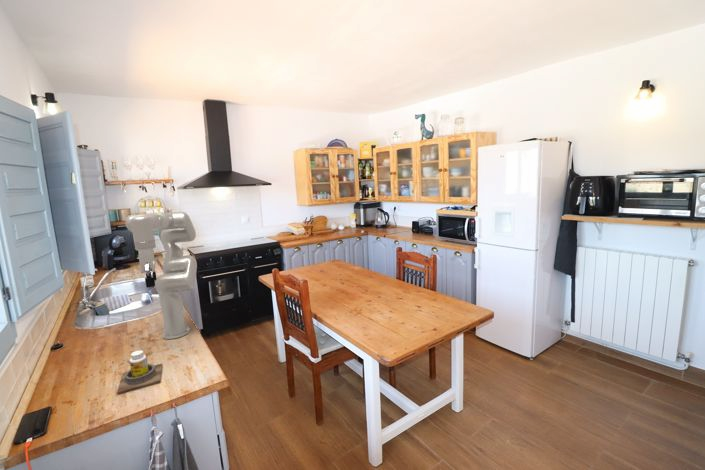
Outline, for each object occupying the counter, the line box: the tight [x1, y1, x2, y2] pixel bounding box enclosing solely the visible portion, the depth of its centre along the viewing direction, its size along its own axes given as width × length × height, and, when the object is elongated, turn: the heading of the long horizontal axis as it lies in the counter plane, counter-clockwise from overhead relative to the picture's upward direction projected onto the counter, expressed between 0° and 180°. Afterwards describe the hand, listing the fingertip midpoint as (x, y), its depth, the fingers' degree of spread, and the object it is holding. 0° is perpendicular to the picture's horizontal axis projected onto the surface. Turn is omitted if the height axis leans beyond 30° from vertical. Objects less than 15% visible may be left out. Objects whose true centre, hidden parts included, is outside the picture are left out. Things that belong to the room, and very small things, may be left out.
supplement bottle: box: [129, 350, 149, 378], centre depth 133 cm, size 6×6×10 cm
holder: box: [116, 363, 163, 396], centre depth 133 cm, size 14×14×4 cm
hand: (151, 283), depth 146 cm, fingers open, 9 cm apart
